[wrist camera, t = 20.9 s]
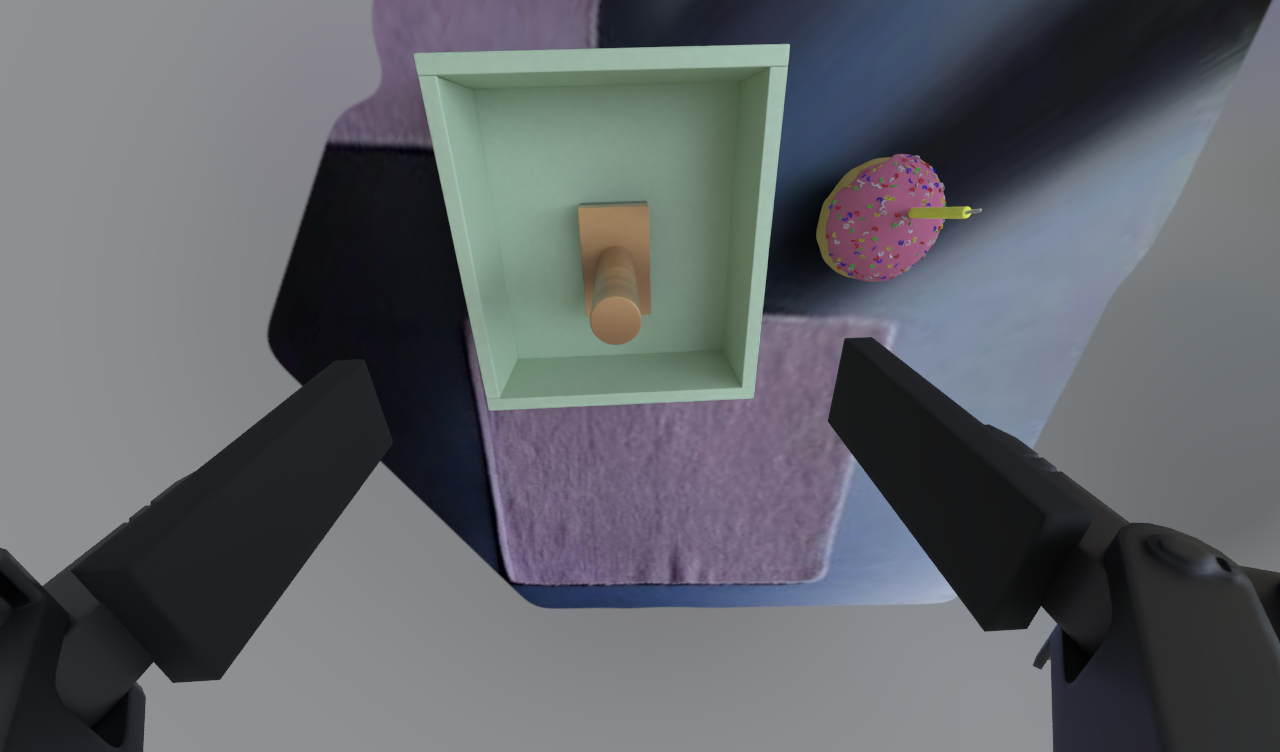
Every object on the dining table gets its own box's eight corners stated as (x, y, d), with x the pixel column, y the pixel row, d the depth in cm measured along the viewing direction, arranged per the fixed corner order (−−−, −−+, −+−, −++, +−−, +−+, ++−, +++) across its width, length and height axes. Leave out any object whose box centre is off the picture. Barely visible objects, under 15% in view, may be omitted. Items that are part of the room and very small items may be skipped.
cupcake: (852, 129, 33) (963, 122, 23) (927, 196, 36) (1060, 218, 25) (776, 231, 36) (843, 267, 26) (850, 286, 39) (939, 339, 28)
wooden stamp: (580, 202, 34) (556, 240, 20) (646, 200, 34) (666, 237, 21) (588, 304, 37) (573, 393, 24) (648, 302, 38) (665, 389, 24)
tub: (459, 73, 31) (412, 52, 24) (750, 66, 31) (790, 43, 24) (511, 364, 41) (488, 411, 34) (730, 354, 41) (753, 398, 34)
